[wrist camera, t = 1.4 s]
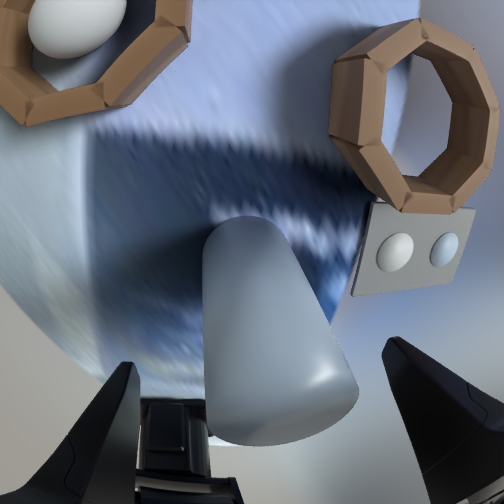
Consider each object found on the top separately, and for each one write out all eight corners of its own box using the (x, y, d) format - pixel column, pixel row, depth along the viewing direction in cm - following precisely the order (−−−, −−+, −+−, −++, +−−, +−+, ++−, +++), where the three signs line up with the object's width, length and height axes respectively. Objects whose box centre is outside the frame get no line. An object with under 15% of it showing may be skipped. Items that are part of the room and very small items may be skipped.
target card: (448, 281, 19) (451, 284, 18) (350, 293, 17) (352, 297, 17) (473, 207, 16) (477, 210, 15) (371, 201, 14) (374, 204, 14)
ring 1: (188, 101, 11) (182, 101, 8) (17, 129, 10) (-19, 141, 7) (199, -64, 7) (198, -96, 4) (28, -23, 5) (-1, -36, 3)
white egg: (134, 53, 9) (103, 37, 6) (53, 71, 9) (4, 69, 5) (140, -22, 7) (117, -59, 4) (60, -2, 7) (18, -23, 4)
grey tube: (284, 288, 16) (337, 433, 9) (204, 293, 16) (212, 450, 8) (292, 215, 14) (379, 357, 7) (200, 217, 14) (198, 380, 6)
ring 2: (448, 196, 15) (480, 216, 12) (322, 188, 14) (348, 211, 11) (465, 61, 11) (501, 64, 8) (333, 12, 9) (364, -4, 7)
